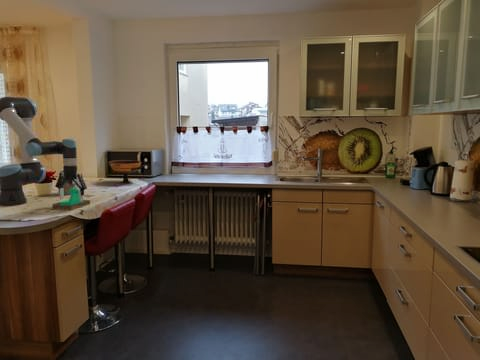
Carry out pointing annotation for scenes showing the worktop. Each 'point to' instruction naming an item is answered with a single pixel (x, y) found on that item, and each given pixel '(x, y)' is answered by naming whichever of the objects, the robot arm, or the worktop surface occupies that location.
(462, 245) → the worktop surface
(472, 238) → the worktop surface
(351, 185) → the worktop surface
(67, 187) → the coffee box
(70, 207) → the pocket tray
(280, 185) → the worktop surface
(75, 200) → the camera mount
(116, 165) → the footed fruit bowl
